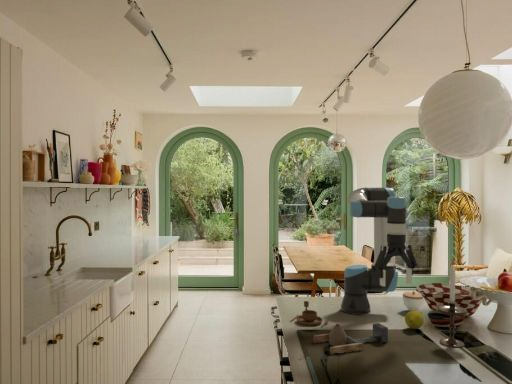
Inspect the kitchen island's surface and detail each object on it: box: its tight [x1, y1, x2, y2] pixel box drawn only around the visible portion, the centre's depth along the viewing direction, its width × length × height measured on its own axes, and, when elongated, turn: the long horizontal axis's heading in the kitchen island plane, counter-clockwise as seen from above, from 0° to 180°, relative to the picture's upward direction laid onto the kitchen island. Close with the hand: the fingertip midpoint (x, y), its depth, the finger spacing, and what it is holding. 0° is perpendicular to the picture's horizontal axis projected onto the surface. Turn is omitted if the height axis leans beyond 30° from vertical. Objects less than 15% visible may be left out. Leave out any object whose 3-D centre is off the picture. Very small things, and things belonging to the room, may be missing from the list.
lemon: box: [404, 310, 425, 330], centre depth 190 cm, size 11×8×8 cm
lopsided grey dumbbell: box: [346, 322, 389, 344], centre depth 172 cm, size 16×9×6 cm, turn 110°
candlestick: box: [437, 258, 468, 349], centre depth 171 cm, size 11×11×35 cm
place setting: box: [290, 300, 329, 328], centre depth 204 cm, size 18×20×6 cm
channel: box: [312, 332, 364, 355], centre depth 168 cm, size 14×14×3 cm
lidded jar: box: [402, 290, 425, 312], centre depth 221 cm, size 11×11×9 cm
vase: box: [328, 323, 347, 347], centre depth 168 cm, size 7×7×9 cm
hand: (395, 284), depth 177 cm, fingers open, 12 cm apart
